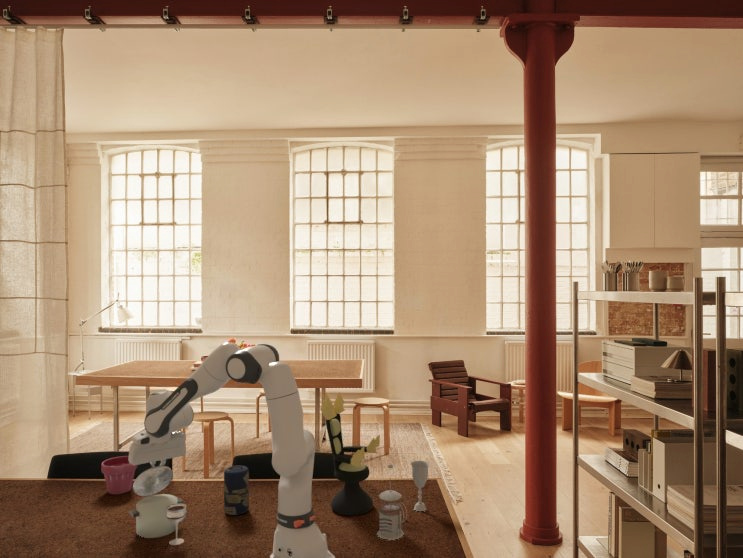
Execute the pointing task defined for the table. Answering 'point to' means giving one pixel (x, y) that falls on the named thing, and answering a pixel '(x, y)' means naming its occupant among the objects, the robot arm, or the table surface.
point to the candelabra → (347, 463)
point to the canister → (236, 490)
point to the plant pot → (118, 474)
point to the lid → (152, 480)
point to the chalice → (420, 480)
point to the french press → (395, 529)
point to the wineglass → (176, 518)
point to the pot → (154, 515)
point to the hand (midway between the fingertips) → (157, 471)
